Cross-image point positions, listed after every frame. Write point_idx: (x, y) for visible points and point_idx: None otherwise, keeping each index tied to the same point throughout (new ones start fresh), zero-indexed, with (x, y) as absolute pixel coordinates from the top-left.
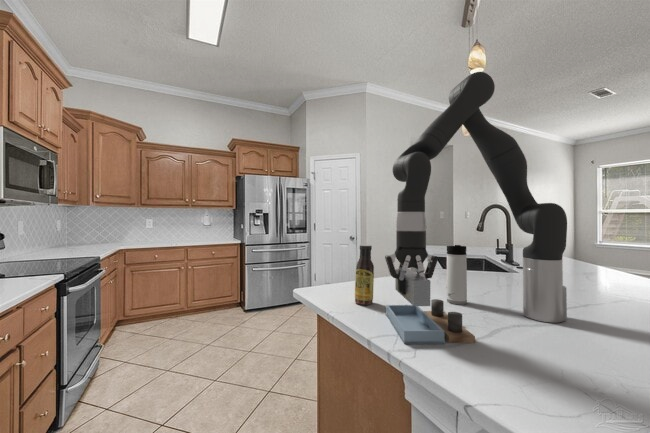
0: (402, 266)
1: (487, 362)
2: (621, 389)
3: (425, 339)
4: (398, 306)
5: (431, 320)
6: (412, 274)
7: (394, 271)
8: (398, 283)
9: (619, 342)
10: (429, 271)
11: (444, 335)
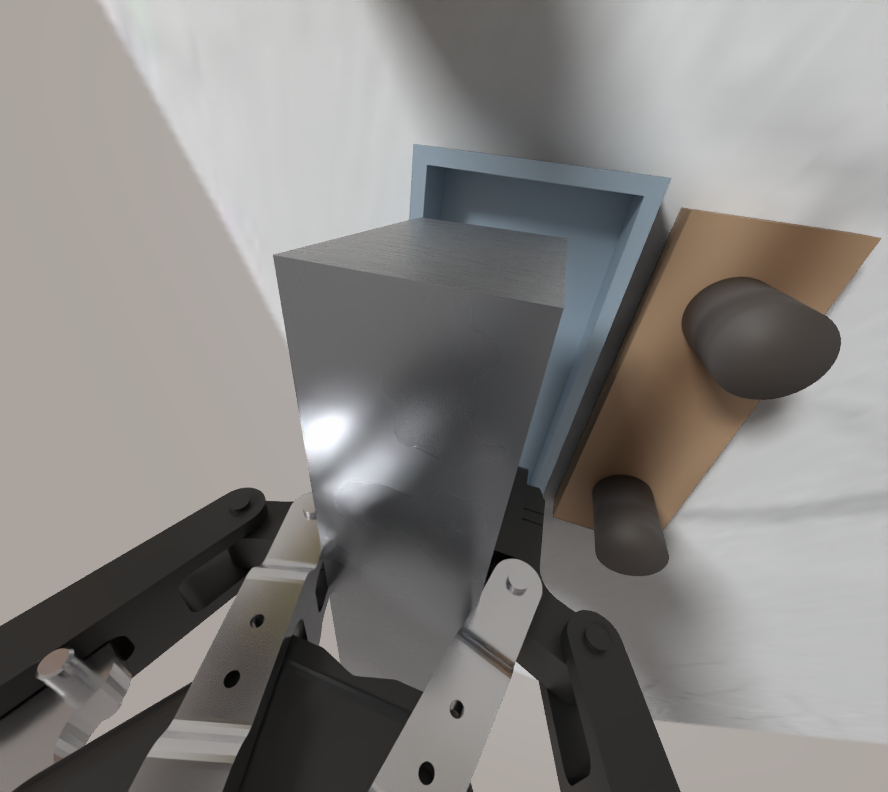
0: (270, 625)
1: (568, 587)
2: (742, 714)
3: None
4: (502, 174)
5: (548, 457)
6: (403, 610)
7: (223, 592)
8: None
9: None
10: (554, 738)
11: (565, 480)
